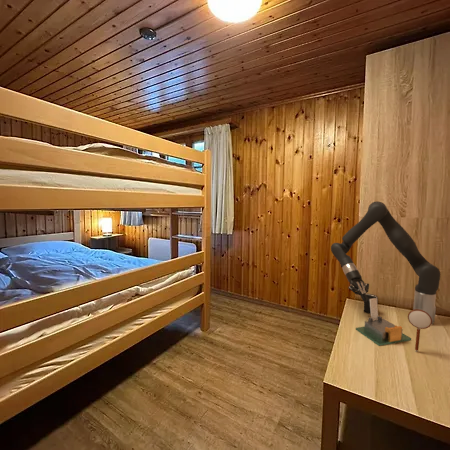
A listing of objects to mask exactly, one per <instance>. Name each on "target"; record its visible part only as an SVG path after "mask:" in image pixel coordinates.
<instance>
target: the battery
mask: <svg viewBox="0 0 450 450" xmlns="http://www.w3.org/2000/svg"><path fill="white" fill-rule="evenodd" d="M366 295H367V297H368V301H366V302H364V301H363V312H364V313H367V314H370V315H371V312H370V299H373V298H377V305H378V303H379V297H378V296H377V295H376V294H372V293H366Z"/></svg>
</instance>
